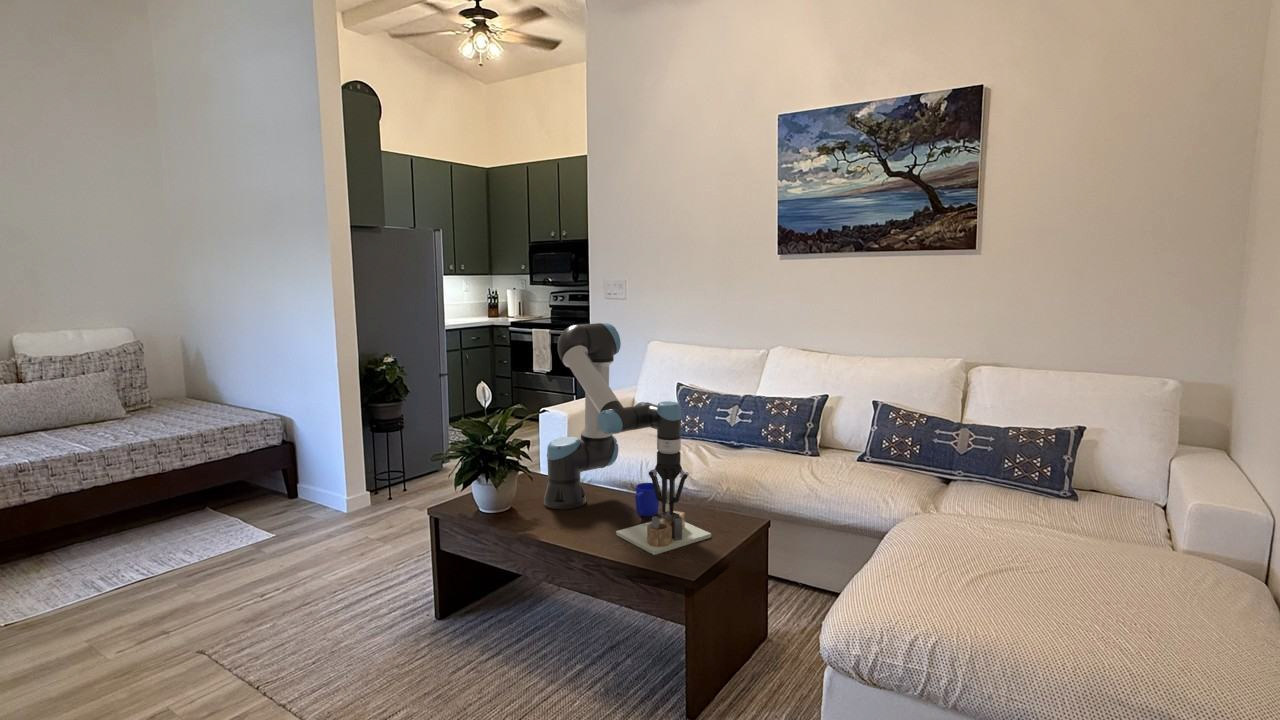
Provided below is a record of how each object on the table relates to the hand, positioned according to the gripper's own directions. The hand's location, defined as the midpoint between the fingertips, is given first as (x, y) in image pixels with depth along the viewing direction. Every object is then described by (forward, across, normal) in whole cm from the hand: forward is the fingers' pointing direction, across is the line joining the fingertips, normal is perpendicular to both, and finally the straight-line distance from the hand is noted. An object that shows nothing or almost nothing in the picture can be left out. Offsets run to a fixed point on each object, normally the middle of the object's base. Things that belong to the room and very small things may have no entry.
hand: (668, 522), depth 223 cm
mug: (+3, -10, +12) cm, 16 cm away
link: (+2, +1, -7) cm, 8 cm away
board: (+3, -1, -4) cm, 5 cm away
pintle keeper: (+3, +1, -10) cm, 10 cm away
